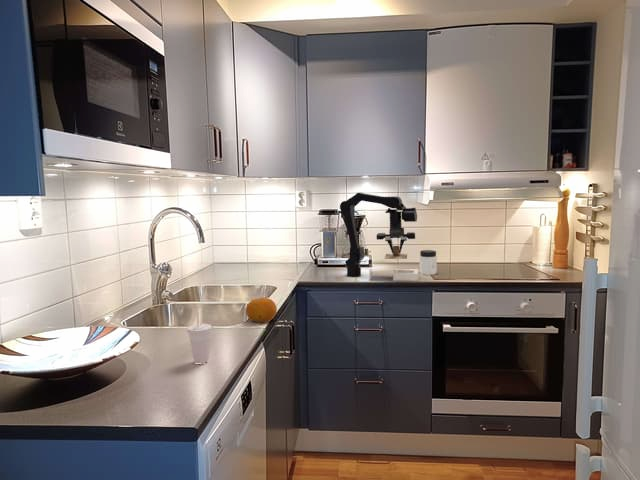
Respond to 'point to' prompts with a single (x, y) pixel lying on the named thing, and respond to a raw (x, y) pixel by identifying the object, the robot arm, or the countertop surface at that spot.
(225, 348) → the countertop surface
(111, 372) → the countertop surface
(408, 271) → the dish
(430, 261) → the jar
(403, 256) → the lid
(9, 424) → the countertop surface
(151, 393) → the countertop surface
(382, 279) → the mat
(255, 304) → the fruit
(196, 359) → the smoothie
